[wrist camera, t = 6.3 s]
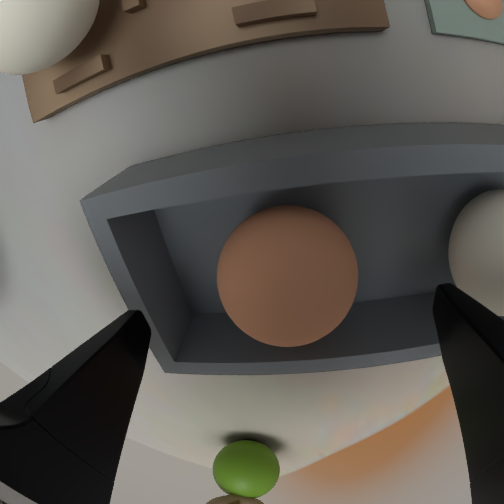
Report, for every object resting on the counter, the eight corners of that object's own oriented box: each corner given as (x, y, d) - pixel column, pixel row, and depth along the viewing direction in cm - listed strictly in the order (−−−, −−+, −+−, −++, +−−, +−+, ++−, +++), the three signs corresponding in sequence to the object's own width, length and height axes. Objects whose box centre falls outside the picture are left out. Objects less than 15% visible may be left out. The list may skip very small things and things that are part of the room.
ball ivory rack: (116, -53, 6) (39, -85, 2) (133, 39, 8) (44, 32, 4) (31, 1, 7) (-49, 2, 3) (44, 86, 9) (-41, 109, 5)
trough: (536, 128, 8) (590, 152, 5) (513, 282, 12) (543, 327, 9) (130, 166, 12) (79, 200, 9) (186, 318, 16) (164, 372, 13)
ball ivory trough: (520, 170, 9) (589, 220, 5) (505, 263, 11) (551, 327, 7) (433, 173, 10) (497, 231, 6) (426, 275, 12) (462, 354, 8)
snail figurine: (217, 420, 21) (184, 560, 11) (293, 439, 22) (278, 572, 12) (202, 441, 24) (173, 555, 14) (267, 457, 25) (251, 568, 15)
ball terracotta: (349, 282, 13) (365, 368, 9) (244, 293, 13) (225, 377, 10) (343, 178, 10) (372, 241, 6) (218, 195, 11) (178, 263, 7)
